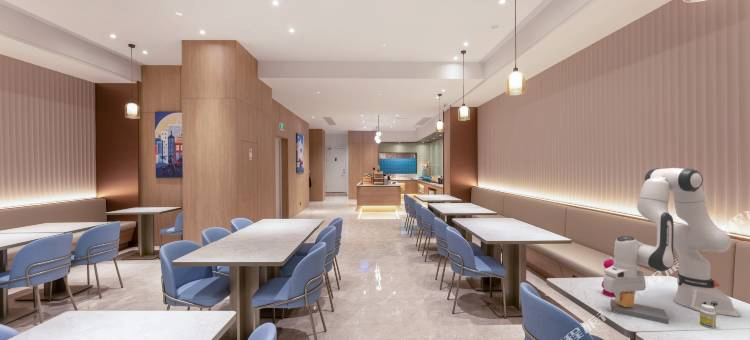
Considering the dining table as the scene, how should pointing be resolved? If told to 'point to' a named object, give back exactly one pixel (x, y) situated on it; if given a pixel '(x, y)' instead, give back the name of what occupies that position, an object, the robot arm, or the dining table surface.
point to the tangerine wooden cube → (626, 299)
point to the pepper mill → (606, 264)
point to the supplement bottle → (707, 316)
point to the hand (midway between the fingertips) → (624, 300)
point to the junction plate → (641, 312)
